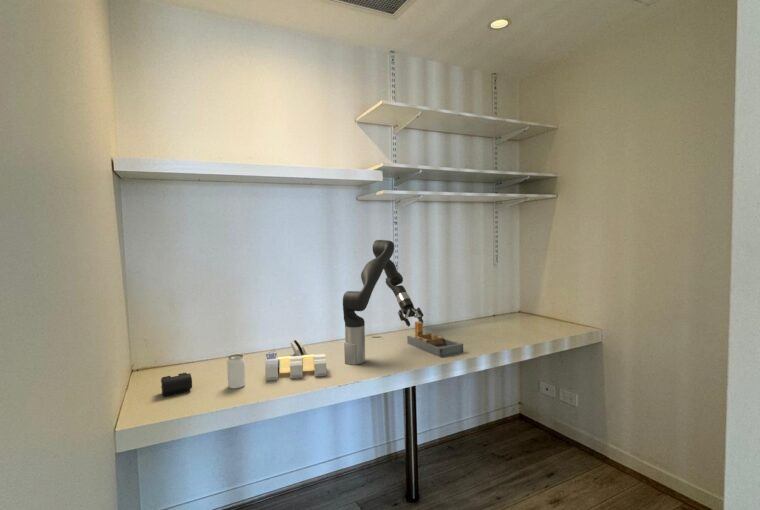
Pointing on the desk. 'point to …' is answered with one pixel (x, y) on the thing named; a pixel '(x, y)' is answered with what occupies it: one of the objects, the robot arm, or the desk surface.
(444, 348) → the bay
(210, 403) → the desk surface
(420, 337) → the crate
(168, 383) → the end cap
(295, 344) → the hinge
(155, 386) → the desk surface
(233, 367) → the can
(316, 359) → the diorama
